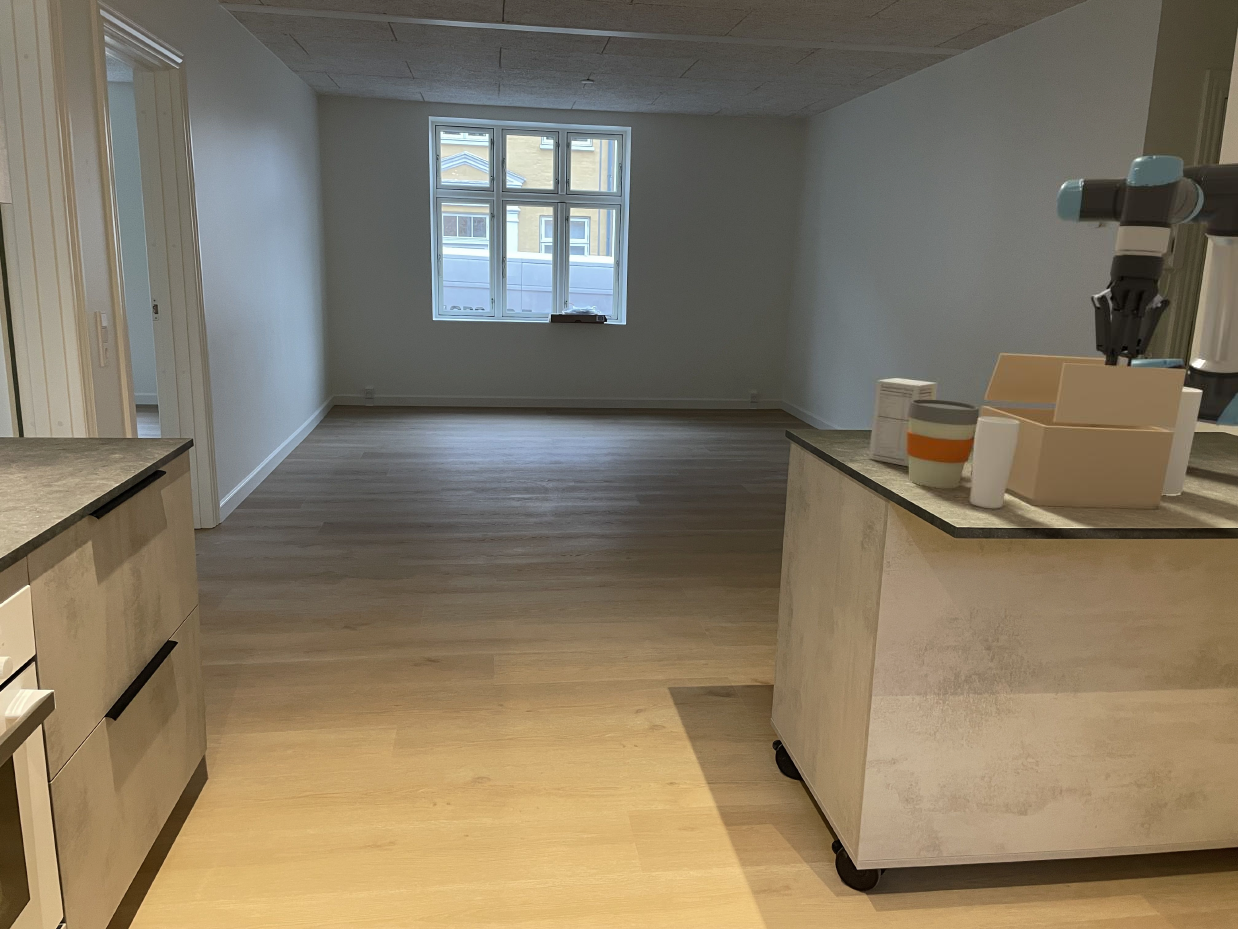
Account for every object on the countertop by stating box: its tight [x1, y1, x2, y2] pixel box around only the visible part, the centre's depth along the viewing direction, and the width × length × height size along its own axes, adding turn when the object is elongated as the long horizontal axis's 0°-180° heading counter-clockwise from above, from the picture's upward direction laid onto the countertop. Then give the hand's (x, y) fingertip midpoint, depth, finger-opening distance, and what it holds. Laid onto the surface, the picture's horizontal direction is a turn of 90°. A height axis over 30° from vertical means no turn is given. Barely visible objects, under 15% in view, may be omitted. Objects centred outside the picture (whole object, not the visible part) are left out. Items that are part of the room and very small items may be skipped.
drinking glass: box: [969, 416, 1020, 510], centre depth 151 cm, size 7×7×15 cm
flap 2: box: [1053, 363, 1186, 428], centre depth 151 cm, size 22×10×1 cm
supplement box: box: [868, 377, 938, 467], centre depth 185 cm, size 10×9×17 cm
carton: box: [970, 405, 1174, 510], centre depth 165 cm, size 24×22×14 cm
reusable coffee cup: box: [907, 399, 980, 489], centre depth 166 cm, size 13×13×15 cm
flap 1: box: [983, 352, 1106, 405], centre depth 172 cm, size 22×10×1 cm
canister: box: [1157, 387, 1203, 495], centre depth 173 cm, size 14×14×20 cm
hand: (1111, 394), depth 152 cm, fingers closed
